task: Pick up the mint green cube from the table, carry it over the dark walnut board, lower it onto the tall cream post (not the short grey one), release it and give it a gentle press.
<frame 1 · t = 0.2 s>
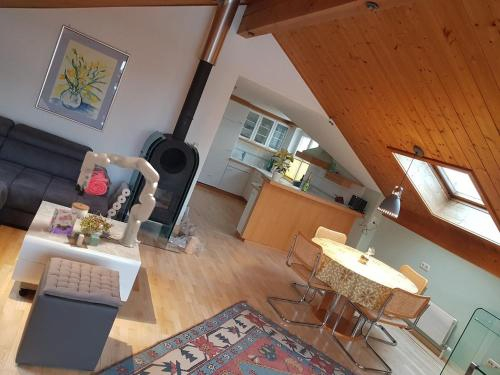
hand: (78, 193, 261), 31 cm above the table, fingers open, 9 cm apart
lidded bowl: (77, 216, 306), on the table
mint green cube: (92, 245, 265), on the table
walnut board: (76, 242, 260), on the table
candy box: (59, 233, 264), on the table
cream post: (78, 244, 256), resting on walnut board
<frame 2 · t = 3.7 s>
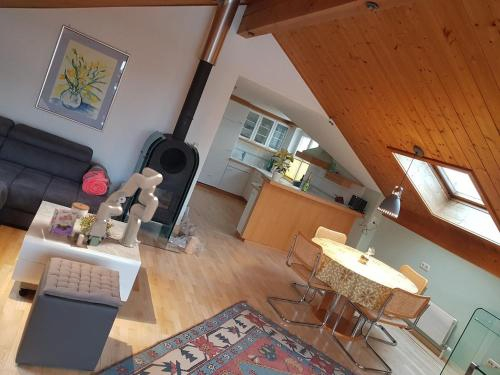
hand: (92, 244, 265), 1 cm above the table, fingers closed on mint green cube, 5 cm apart
mint green cube: (92, 245, 265), on the table, touching gripper
everything else where it was.
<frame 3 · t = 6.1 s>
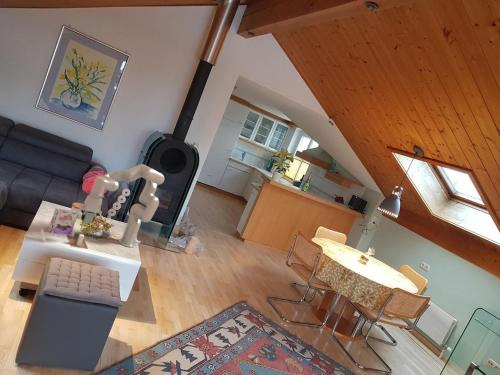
hand: (86, 220, 254), 18 cm above the table, fingers closed on mint green cube, 5 cm apart
mint green cube: (86, 221, 254), point 18 cm above the table, touching gripper
everything else where it was.
when the fingers open (4 cm above the table, at t = 8.7 s): mint green cube drops 2 cm, resting on cream post.
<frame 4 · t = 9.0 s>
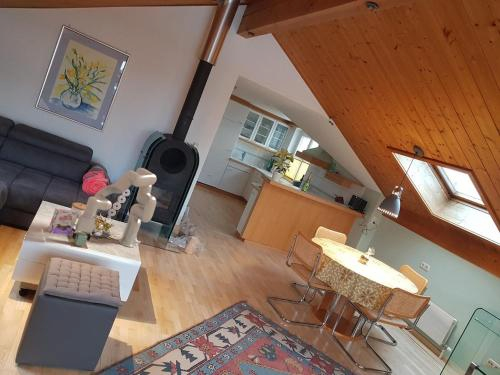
hand: (80, 238, 256), 5 cm above the table, fingers open, 8 cm apart
mint green cube: (79, 243, 256), point 2 cm above the table, touching cream post
everything else where it was.
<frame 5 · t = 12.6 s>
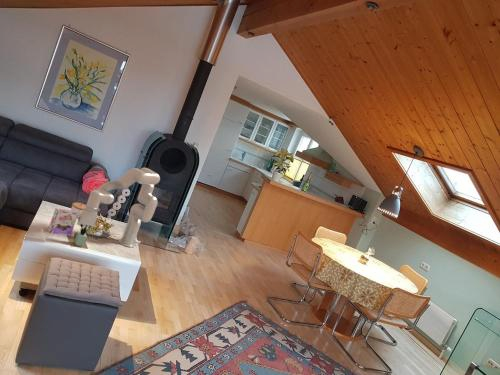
hand: (82, 233, 255), 9 cm above the table, fingers closed
nothing on the table moved.
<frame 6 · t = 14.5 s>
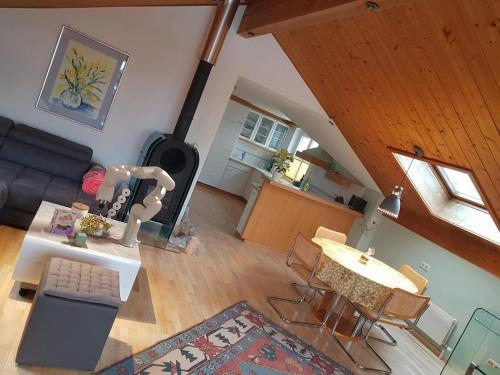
hand: (100, 208, 267), 25 cm above the table, fingers closed
nothing on the table moved.
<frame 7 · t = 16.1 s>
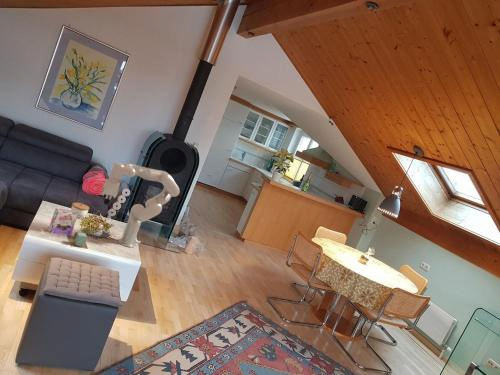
hand: (105, 203, 273), 27 cm above the table, fingers closed
nothing on the table moved.
at the end: mint green cube 0.1 cm from the cream post (horizontally); mint green cube point 1.6 cm above the table; the gripper is holding nothing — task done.
